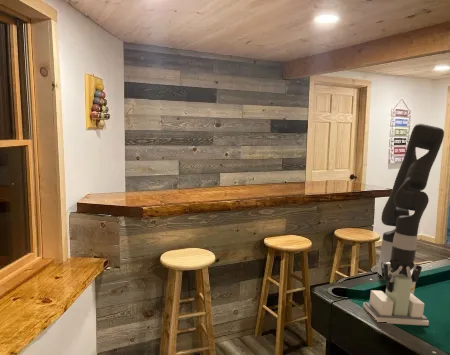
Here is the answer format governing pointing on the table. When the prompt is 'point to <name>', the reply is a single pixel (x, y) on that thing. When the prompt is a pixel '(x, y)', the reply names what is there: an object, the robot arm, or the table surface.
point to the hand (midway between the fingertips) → (397, 291)
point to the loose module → (400, 294)
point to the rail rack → (383, 308)
